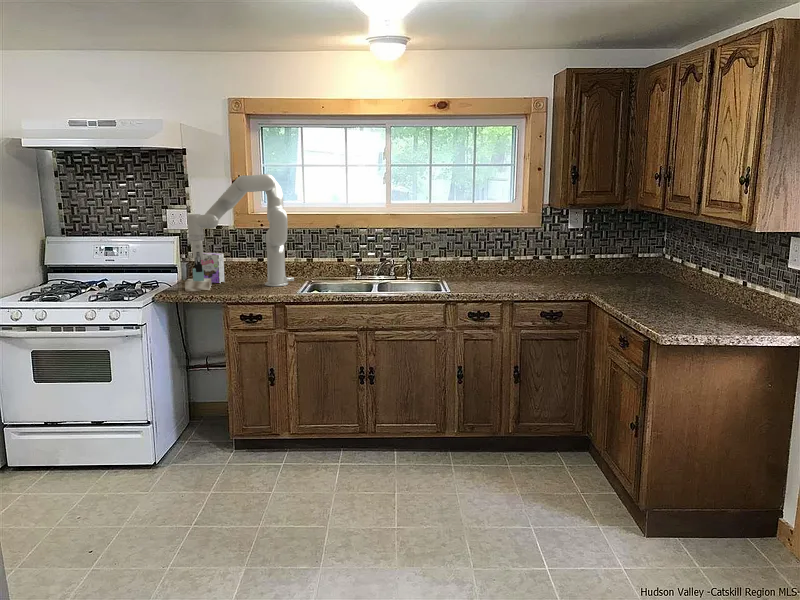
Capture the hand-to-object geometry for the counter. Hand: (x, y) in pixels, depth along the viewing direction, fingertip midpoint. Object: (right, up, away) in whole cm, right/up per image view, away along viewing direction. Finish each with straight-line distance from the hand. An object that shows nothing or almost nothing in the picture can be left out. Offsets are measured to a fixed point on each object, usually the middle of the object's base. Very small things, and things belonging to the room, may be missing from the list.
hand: (198, 270), depth 343 cm
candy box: (0, -6, +23) cm, 24 cm away
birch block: (0, -10, +2) cm, 10 cm away
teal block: (0, -5, +1) cm, 5 cm away
